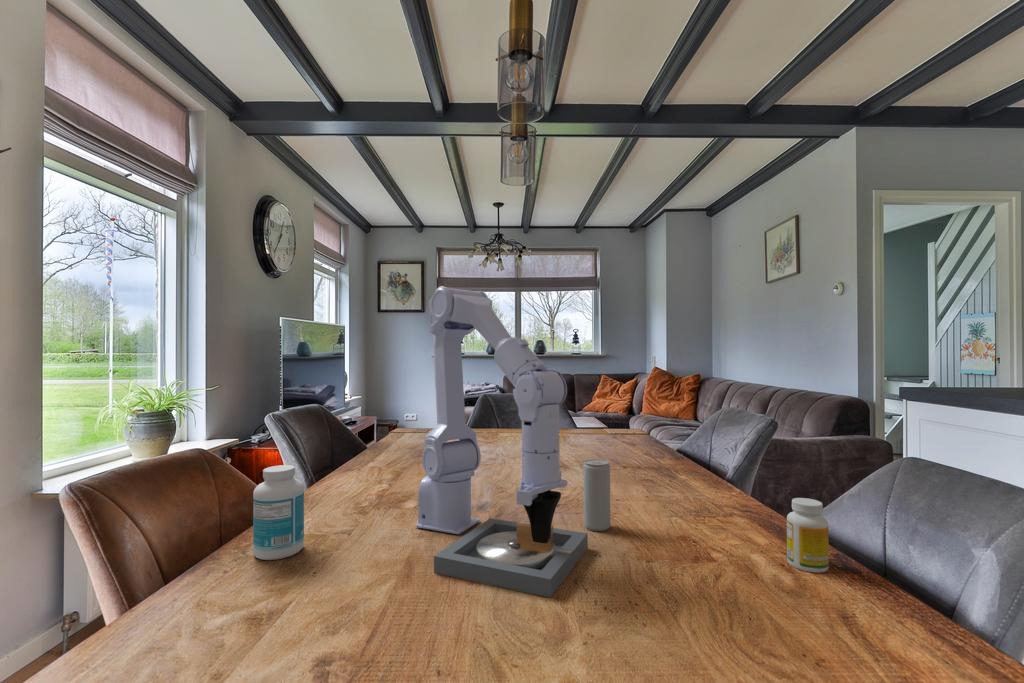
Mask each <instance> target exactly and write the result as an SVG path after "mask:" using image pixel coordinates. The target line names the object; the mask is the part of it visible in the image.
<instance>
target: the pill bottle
mask: <svg viewBox="0 0 1024 683" xmlns="http://www.w3.org/2000/svg"><path fill="white" fill-rule="evenodd" d="M295 474H296V467H295V465H292V464H282V465H281V464H279V465H272V466H267V467H266V468H264V469H262V478H263V480H264V481H263V482H261V483H259V484H258V485H256V487H255V488H254V490H253V493H252V494H253V495H252V497H253V498H252V499H253V500H252V501H253V506H252V509H253V510H252V514H253V516H252V522H253V523H252V524H253V525H252V529H253V530H252V551H253V552H252V554H253V556H255V558H257V559H259V560H264V561H274V560H281V559H286V558H289V557H292V556H294V555H296V554H298V553H299V552H300V551H301V550H302V549H303V548H304V544H305V486H304V483H303V482H302V481H301V480H300V479H297V478H294V477H295Z"/></svg>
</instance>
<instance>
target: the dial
mask: <svg viewBox="0 0 1024 683" xmlns="http://www.w3.org/2000/svg"><path fill="white" fill-rule="evenodd" d="M553 528H554V525H552V524H551V531H550V537H549V541H548V542H547V543H546V544H545V543H539V542H533V538H532V533H531V525H530V522H528V521H527V522H523V521H518V524H517V531H509V532H500V533H495V534H492V535H489V536H486V537H484V538H482V539H481V540H480V541H479V542H478V543H477V558H480V559H486V560H491V561H496V562H501V563H506V564H511V565H517V566H522V567H527V568H532V569H538V568H541V567H544V566H546V565H547V564H548V562H549V561H550V560H551V559H552V558H553V557H554V544H553Z"/></svg>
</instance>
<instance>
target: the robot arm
mask: <svg viewBox="0 0 1024 683" xmlns="http://www.w3.org/2000/svg"><path fill="white" fill-rule="evenodd" d="M428 313H429V314H428V316H429V331H430V333H431V334H432V343H433V346H432V347H433V362H434V364H433V365H434V380H435V381H434V386H435V387H434V388H435V404H436V407H435V408H436V426H435V427H434V428H433V429H432V430H431V431H430V432H429V433H428V434H427V435H426V436H425V437H424V447H423V453H422V461H421V462H422V463H421V464H422V467H423V470H424V472H425V473H426V475H425V476H424V477H423V478H422V480H421V481H420V484H419V487H418V491H417V492H418V493H417V494H418V495H417V496H418V497H417V500H418V501H417V523H416V524H415V528H418V529H419V528H420V529H424V530H430V531H431V530H432V531H435V532H442V533H449V534H453V535H461V534H462V533H464V532H465V531H467V530H469V529H470V528H471V527H473V526H474V525H476V524H478V523H479V522H481V519H480V518H479V517H472V477H474V476H475V471H477V469H478V468H479V466H480V463H481V459H482V458H481V450H480V447H479V444H478V441H477V433H476V432H475V431H474V429H473V428H471V427H470V426H469V425H468V424H466V410H465V409H466V407H465V392H464V390H465V389H464V388H465V387H464V376H463V375H464V372H463V359H462V358H463V356H462V355H463V354H462V341H463V340H464V338H466V336H468V335H470V334H471V333H472V332H474V331H475V330H476V331H477V332H478V333H479V334H480V335H481V337H483V339H484V340H485V341H486V342H487V344H489V345H490V346H491V348H493V350H494V353H493V354H494V355H493V358H494V361H495V363H496V364H497V366H498V367H499V369H501V371H502V372H503V374H504V375H505V376H506V377H507V379H508V380H509V381H510V383H511V384H512V386H513V387H514V388H513V389H512V394H513V395H512V396H513V399H514V401H515V404H516V405H517V408H518V409H517V410H518V417H519V420H520V421H521V478H520V480H519V481H520V482H519V488H518V489H517V490H516V492H515V493H516V495H515V496H516V505H519V506H523V507H524V509H525V512H526V514H527V517H528V520H529V523H530V525H531V533H532V538H533V542H539V543H545V544H546V543H547V542H548V541H549V537H550V531H551V525H552V523H553V518H554V514H555V512H556V508H557V506H558V504H559V502H560V499H561V497H562V493H561V492H560V491H555V489H558V488H560V489H562V488H566V487H567V486H568V480H566V479H562V469H561V466H560V459H561V458H560V406H561V405H562V404H563V403H564V402H565V400H566V398H567V395H568V387H567V386H568V385H567V382H566V379H565V378H564V377H563V374H562V373H561V371H558V369H550V368H549V367H548V366H545V363H544V362H543V361H542V360H541V359H539V358H538V356H537V355H536V354H535V353H534V352H533V350H532V349H531V347H529V345H530V343H529V342H528V341H527V340H526V338H525V339H522V338H520V337H515V336H514V337H512V336H511V334H510V332H509V331H507V329H506V327H505V326H504V324H503V323H502V322H501V320H500V319H499V317H498V315H497V314H496V312H495V311H494V310H493V300H492V299H491V298H489V296H488V295H487V293H486V292H484V291H483V290H470V289H469V290H468V289H460V288H451V287H447V286H439V287H437V288H436V289H435V291H434V293H432V295H431V297H430V299H429V301H428Z"/></svg>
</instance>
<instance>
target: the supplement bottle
mask: <svg viewBox="0 0 1024 683" xmlns="http://www.w3.org/2000/svg"><path fill="white" fill-rule="evenodd" d="M791 508H792V509H791V510H792V511H791V512H789V513H788V514H787V516H786V558H787V562H788V564H789V565H791V566H792V567H793V568H794V569H798V570H799V571H800V570H801V571H804V572H809V573H816V574H817V573H819V574H820V573H821V572H822V573H825V572H827V571H829V568H830V561H829V560H830V558H829V557H830V552H829V551H830V550H829V548H830V547H829V546H830V545H829V536H830V535H829V522H828V520H827V518H825V517H824V516H823V515H822V514H823V512H824V505H823V503H822V502H821V501H819V500H817V499H812V498H806V497H795V498H792V499H791Z"/></svg>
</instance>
